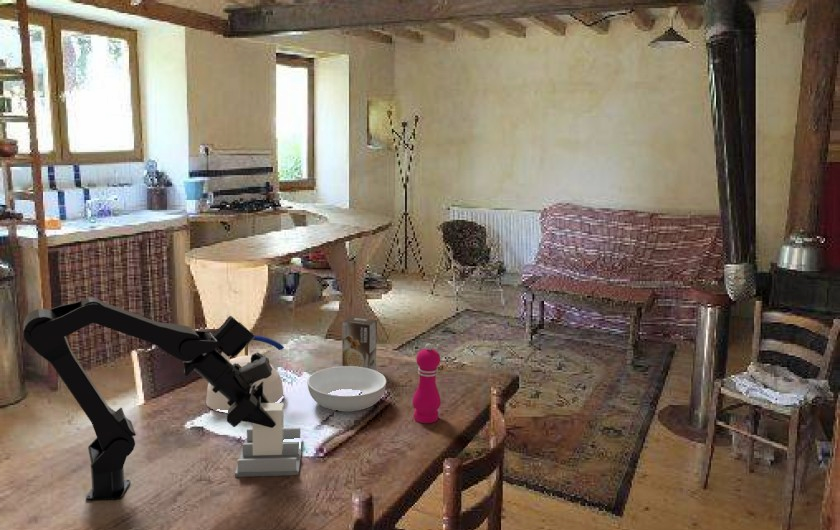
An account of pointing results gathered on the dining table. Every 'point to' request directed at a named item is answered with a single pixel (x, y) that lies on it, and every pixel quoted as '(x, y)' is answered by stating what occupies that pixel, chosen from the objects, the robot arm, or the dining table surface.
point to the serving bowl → (346, 387)
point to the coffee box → (359, 342)
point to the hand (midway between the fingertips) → (274, 421)
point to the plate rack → (270, 458)
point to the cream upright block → (269, 432)
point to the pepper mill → (427, 386)
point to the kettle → (270, 387)
